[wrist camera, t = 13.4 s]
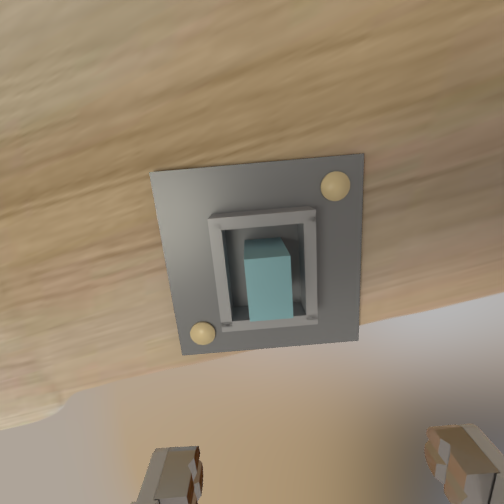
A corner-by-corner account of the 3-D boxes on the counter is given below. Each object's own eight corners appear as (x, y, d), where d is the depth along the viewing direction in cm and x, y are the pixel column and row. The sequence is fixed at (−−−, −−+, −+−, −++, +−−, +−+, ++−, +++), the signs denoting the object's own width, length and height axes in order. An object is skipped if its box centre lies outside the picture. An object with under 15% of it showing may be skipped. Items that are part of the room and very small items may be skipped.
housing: (359, 154, 29) (378, 151, 25) (354, 335, 35) (369, 357, 31) (152, 172, 29) (136, 172, 25) (184, 349, 35) (176, 373, 31)
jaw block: (280, 237, 30) (290, 255, 23) (283, 287, 32) (293, 318, 25) (244, 240, 30) (243, 259, 23) (249, 290, 32) (249, 321, 25)
